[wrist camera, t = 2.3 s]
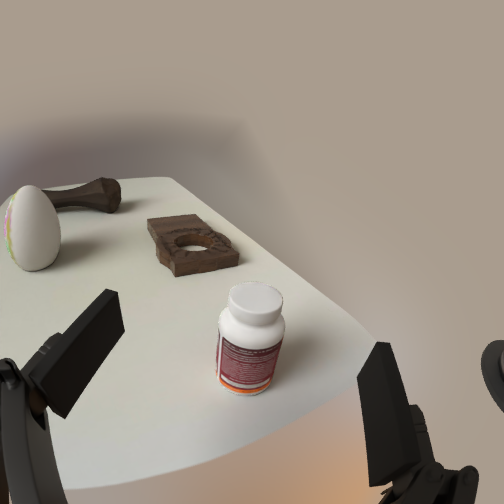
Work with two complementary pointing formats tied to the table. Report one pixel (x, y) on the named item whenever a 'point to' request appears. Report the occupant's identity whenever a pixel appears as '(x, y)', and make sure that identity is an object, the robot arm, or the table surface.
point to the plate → (190, 233)
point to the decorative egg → (32, 229)
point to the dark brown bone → (89, 195)
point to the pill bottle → (249, 338)
